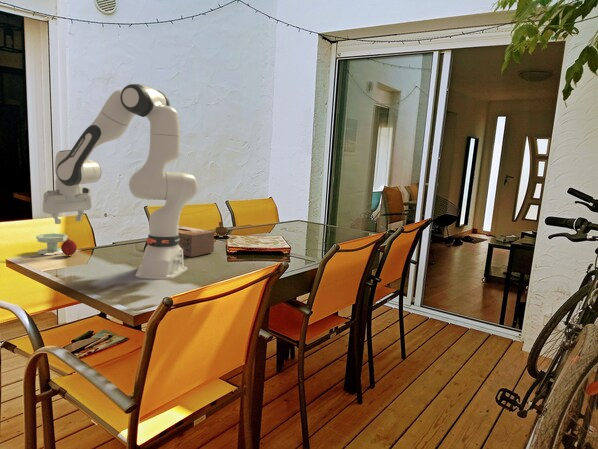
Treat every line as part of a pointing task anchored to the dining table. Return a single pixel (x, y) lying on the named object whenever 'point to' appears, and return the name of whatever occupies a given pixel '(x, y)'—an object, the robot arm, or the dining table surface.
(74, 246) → the onion
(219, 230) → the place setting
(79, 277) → the dining table surface
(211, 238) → the tissue box cover
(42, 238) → the stand
